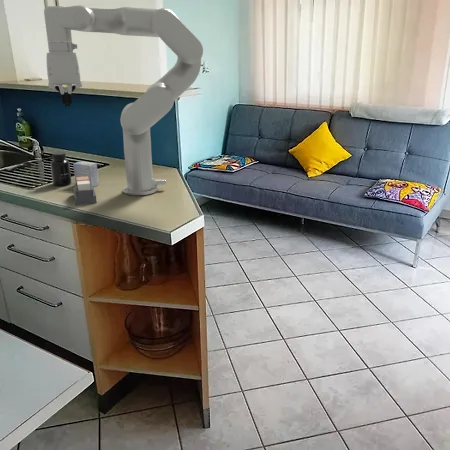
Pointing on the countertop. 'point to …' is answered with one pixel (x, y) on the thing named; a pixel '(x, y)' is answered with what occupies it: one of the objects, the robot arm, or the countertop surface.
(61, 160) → the supplement bottle
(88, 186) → the ivory key
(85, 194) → the key panel
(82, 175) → the medicine box
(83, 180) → the terracotta key
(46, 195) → the countertop surface
